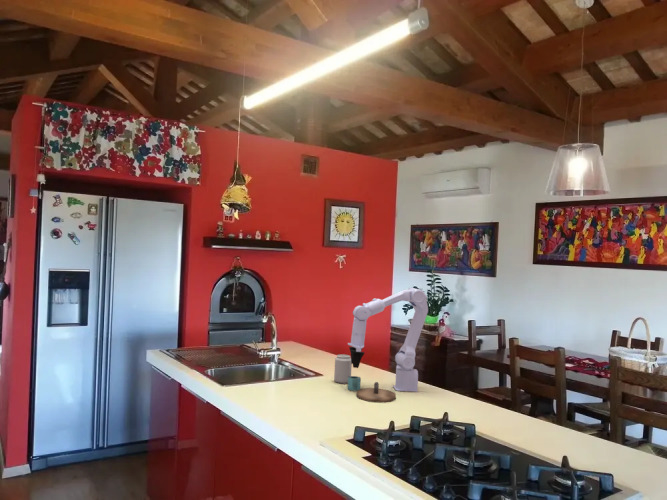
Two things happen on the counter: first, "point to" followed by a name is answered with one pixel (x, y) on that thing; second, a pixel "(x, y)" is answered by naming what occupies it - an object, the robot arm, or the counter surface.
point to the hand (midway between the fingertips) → (354, 365)
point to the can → (342, 368)
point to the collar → (354, 383)
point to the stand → (375, 394)
